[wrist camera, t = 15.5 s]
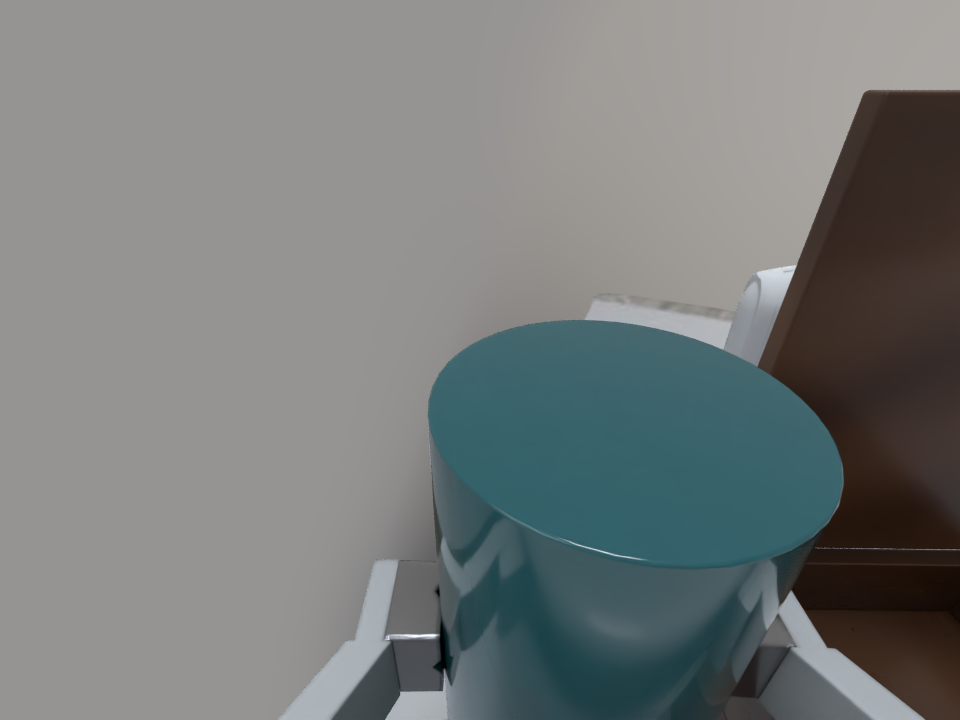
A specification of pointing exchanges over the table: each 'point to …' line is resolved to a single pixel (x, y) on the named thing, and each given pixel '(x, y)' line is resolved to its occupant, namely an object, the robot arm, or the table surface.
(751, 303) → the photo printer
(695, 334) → the table surface
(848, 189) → the lid
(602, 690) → the canister
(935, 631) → the chest
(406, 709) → the table surface
